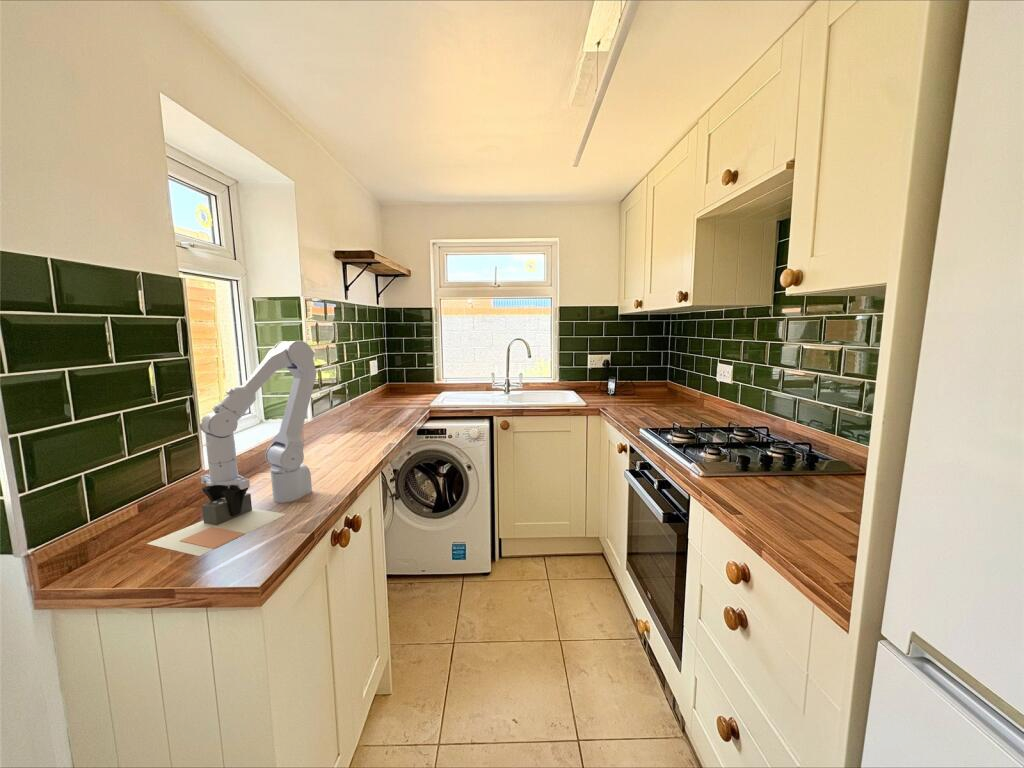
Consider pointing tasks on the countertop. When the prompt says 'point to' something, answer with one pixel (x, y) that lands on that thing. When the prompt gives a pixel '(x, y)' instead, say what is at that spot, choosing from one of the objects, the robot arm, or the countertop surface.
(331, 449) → the countertop surface
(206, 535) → the cream mat
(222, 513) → the domino block
